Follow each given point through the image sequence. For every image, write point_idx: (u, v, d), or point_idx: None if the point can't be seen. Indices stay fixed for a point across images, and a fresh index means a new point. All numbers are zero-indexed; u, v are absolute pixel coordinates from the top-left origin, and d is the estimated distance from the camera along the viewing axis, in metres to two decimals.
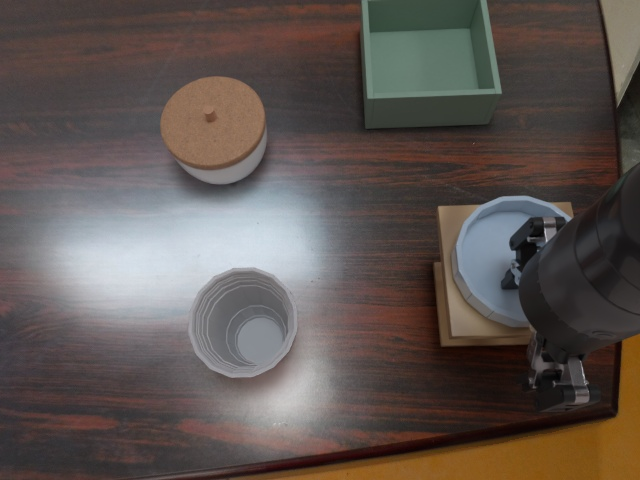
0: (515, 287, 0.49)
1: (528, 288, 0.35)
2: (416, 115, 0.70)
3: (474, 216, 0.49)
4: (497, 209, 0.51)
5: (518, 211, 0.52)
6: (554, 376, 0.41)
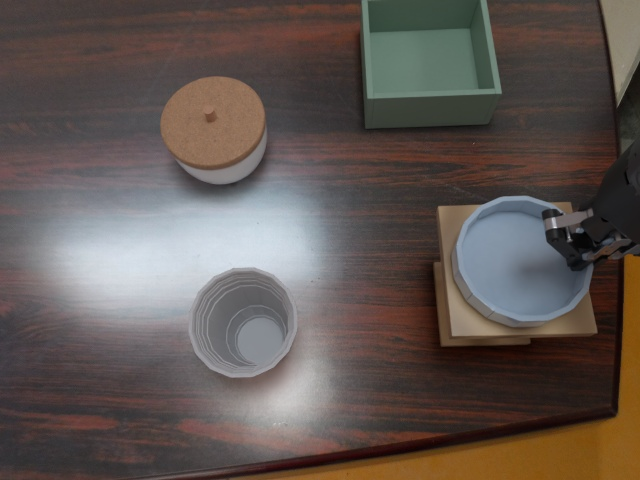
0: None
1: None
2: (416, 115, 0.70)
3: (474, 216, 0.49)
4: (497, 209, 0.51)
5: (518, 212, 0.52)
6: None
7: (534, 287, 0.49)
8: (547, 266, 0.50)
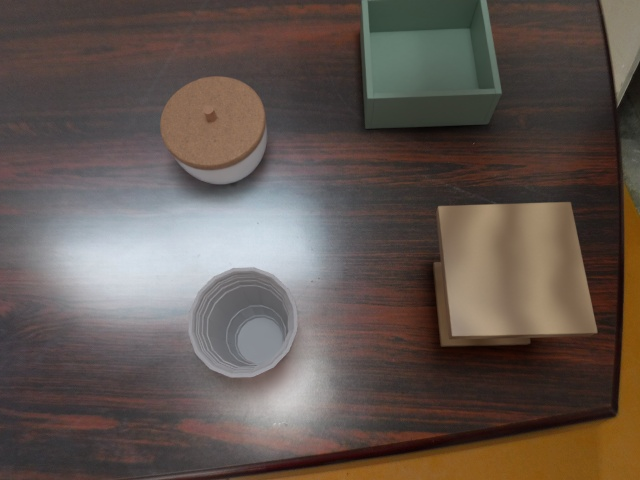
0: None
1: None
2: (416, 115, 0.70)
3: None
4: None
5: None
6: None
7: None
8: None
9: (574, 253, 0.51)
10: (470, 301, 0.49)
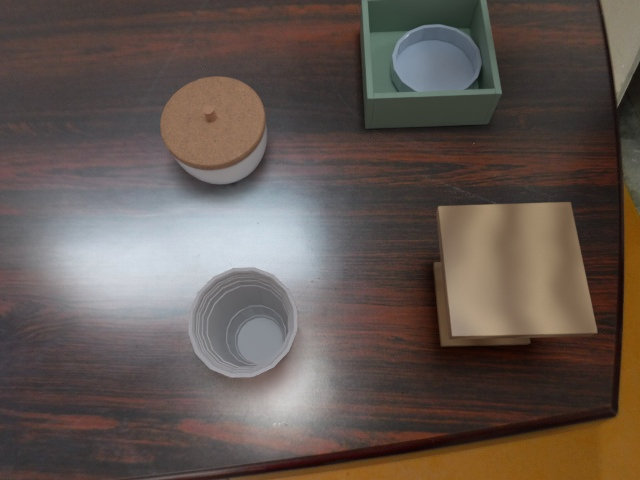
0: None
1: None
2: (416, 115, 0.70)
3: (404, 37, 0.73)
4: (421, 37, 0.76)
5: (436, 40, 0.76)
6: None
7: (446, 84, 0.73)
8: (454, 71, 0.74)
9: (574, 253, 0.51)
10: (470, 301, 0.49)
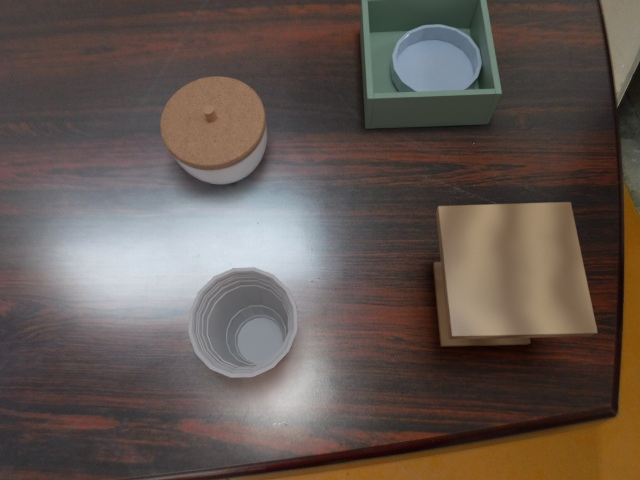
0: None
1: None
2: (416, 115, 0.70)
3: (404, 37, 0.73)
4: (421, 37, 0.76)
5: (436, 40, 0.76)
6: None
7: (446, 84, 0.73)
8: (454, 71, 0.74)
9: (574, 253, 0.51)
10: (470, 301, 0.49)
